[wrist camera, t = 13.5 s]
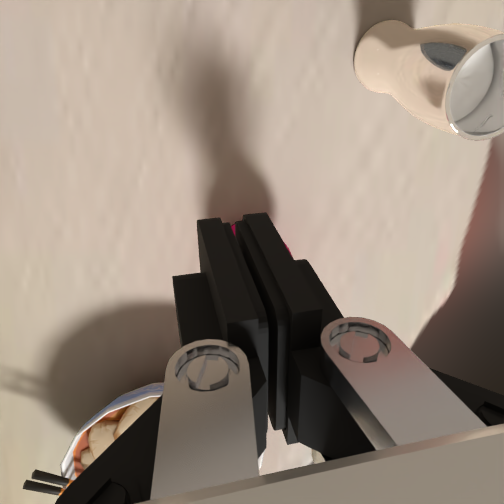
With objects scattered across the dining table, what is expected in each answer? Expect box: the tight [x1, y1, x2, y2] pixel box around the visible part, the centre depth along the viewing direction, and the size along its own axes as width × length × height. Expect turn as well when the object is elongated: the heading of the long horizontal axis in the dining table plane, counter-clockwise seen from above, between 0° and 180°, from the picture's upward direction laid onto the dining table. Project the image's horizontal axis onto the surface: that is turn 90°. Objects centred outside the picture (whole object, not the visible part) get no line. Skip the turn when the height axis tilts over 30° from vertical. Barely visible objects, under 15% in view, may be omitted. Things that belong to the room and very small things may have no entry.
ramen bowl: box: [23, 382, 265, 495], centre depth 55 cm, size 25×23×8 cm
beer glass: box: [354, 20, 504, 141], centre depth 36 cm, size 7×7×15 cm
